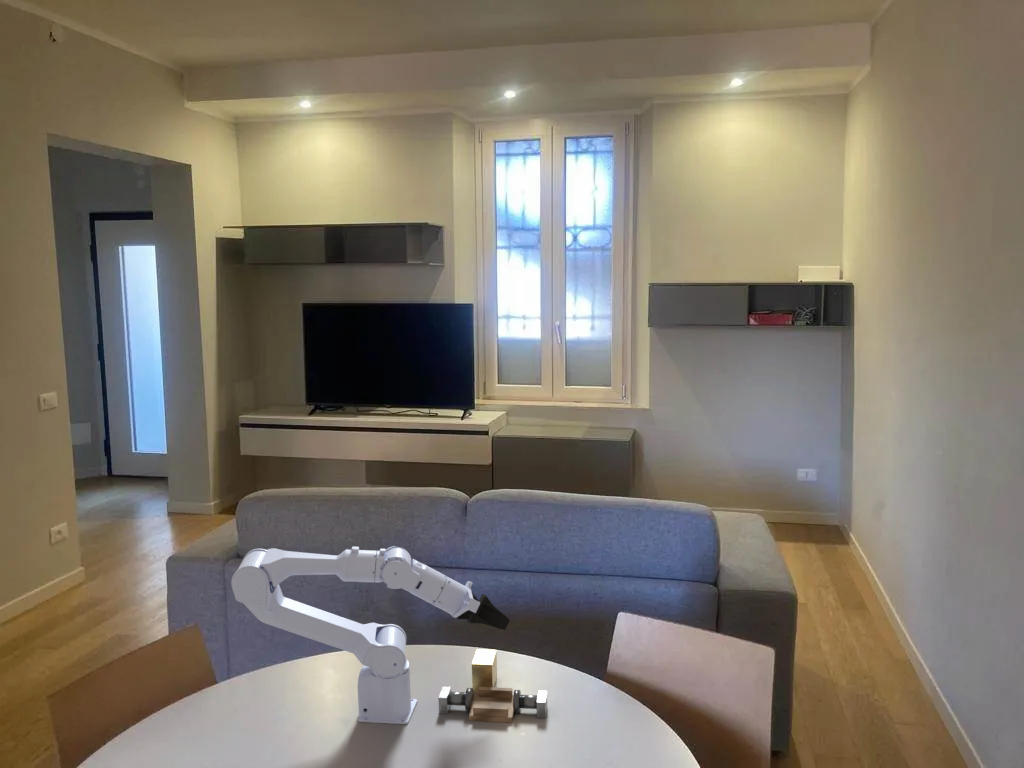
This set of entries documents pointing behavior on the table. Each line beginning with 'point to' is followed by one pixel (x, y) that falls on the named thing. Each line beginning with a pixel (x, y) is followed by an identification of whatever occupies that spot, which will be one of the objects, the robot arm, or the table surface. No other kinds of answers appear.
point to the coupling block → (484, 669)
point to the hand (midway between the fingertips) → (500, 623)
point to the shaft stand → (492, 703)
